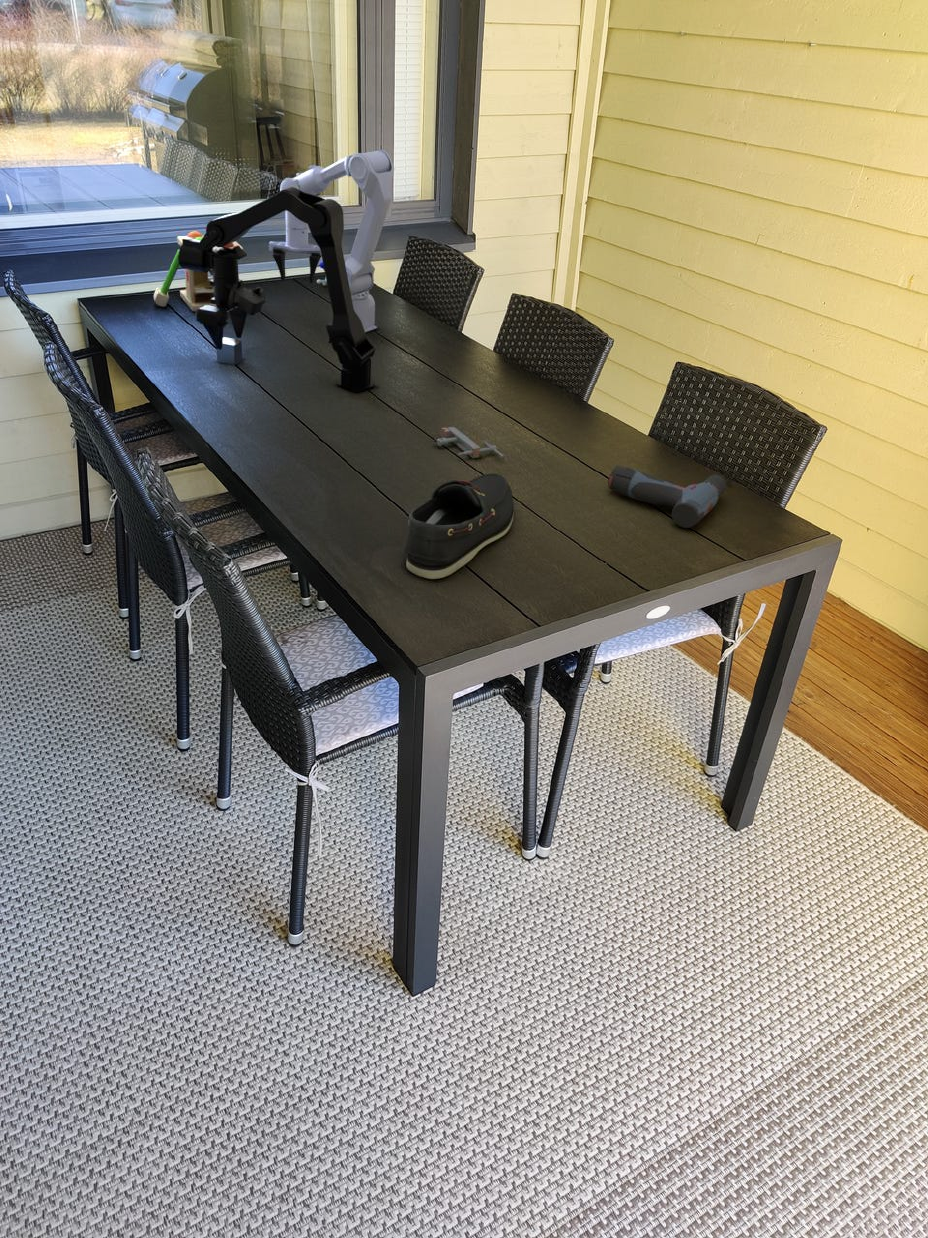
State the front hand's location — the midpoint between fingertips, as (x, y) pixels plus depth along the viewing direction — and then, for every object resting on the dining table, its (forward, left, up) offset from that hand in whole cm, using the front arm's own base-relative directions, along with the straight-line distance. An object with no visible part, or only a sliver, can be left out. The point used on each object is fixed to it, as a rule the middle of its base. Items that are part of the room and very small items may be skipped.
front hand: (229, 343), depth 231 cm
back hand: (-38, -18, +4) cm, 42 cm away
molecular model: (-61, -30, -4) cm, 69 cm away
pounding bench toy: (-20, -39, -4) cm, 44 cm away
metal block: (0, 0, -4) cm, 4 cm away
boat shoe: (+23, +91, -4) cm, 94 cm away
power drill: (-18, +109, -4) cm, 110 cm away
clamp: (-5, +69, -4) cm, 70 cm away
